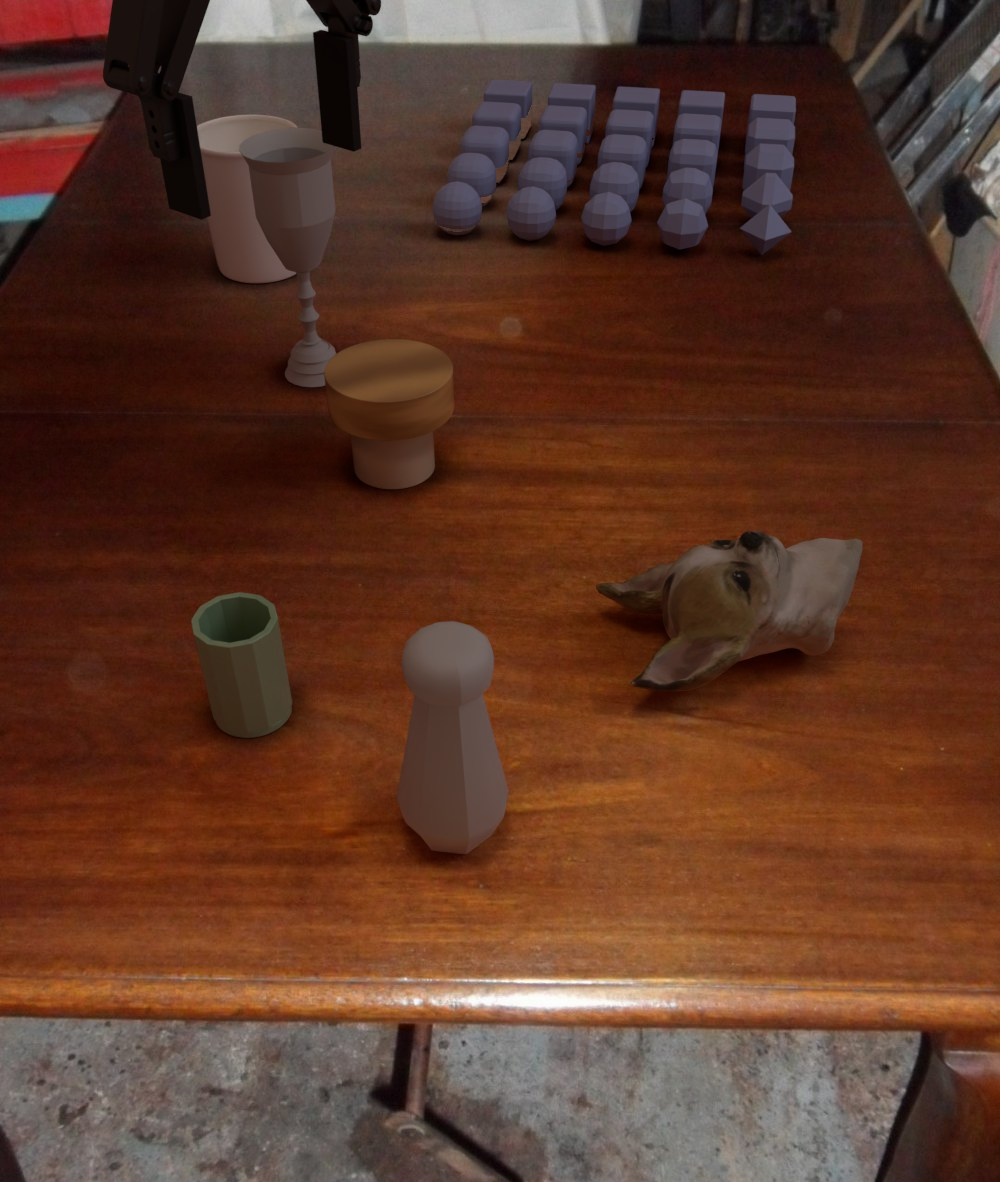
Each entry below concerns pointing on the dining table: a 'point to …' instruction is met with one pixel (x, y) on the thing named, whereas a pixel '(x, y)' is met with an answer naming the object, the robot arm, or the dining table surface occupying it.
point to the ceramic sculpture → (739, 604)
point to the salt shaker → (450, 740)
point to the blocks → (620, 163)
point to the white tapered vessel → (237, 199)
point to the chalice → (296, 225)
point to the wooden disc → (389, 389)
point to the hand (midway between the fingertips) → (270, 177)
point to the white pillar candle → (394, 461)
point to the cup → (243, 664)
